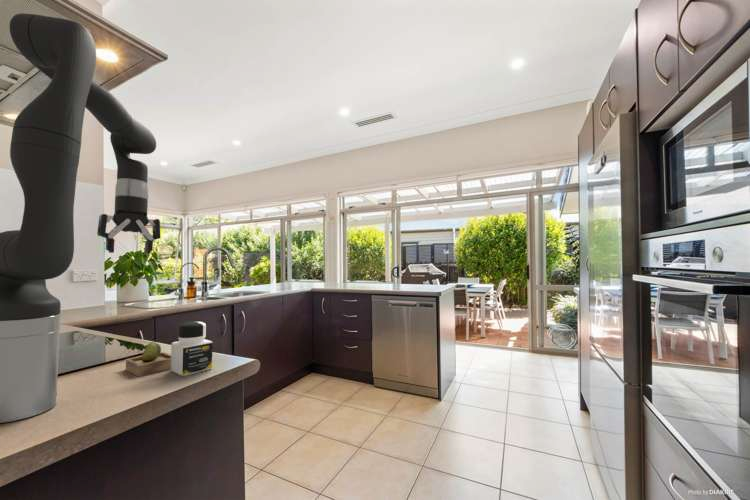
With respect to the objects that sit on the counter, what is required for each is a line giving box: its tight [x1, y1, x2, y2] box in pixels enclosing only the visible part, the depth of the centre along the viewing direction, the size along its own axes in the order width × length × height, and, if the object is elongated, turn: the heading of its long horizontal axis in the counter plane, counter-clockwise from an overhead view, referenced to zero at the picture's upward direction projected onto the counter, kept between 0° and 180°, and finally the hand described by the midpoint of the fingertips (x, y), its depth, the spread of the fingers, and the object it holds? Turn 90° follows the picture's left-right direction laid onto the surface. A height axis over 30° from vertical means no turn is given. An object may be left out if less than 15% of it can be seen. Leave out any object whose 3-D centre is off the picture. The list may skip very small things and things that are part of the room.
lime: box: [141, 341, 162, 362], centre depth 83 cm, size 4×5×5 cm
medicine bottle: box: [170, 321, 214, 377], centre depth 82 cm, size 7×7×12 cm
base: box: [125, 351, 171, 378], centre depth 83 cm, size 8×8×3 cm
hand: (129, 253), depth 92 cm, fingers open, 8 cm apart
